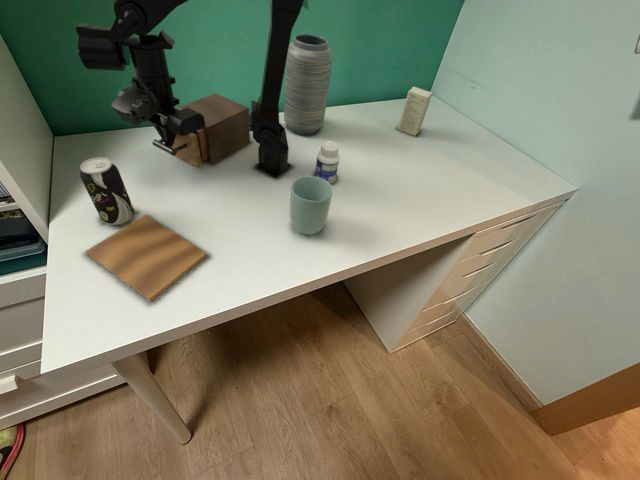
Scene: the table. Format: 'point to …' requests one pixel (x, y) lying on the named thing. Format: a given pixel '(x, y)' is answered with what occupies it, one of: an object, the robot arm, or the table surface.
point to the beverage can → (106, 190)
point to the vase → (307, 83)
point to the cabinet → (222, 125)
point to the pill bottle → (327, 161)
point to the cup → (310, 204)
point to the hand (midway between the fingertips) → (169, 146)
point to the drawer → (188, 147)
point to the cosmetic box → (414, 110)
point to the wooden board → (147, 256)
